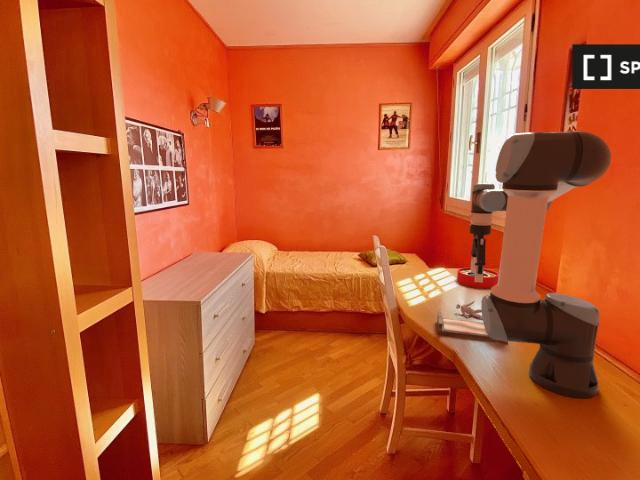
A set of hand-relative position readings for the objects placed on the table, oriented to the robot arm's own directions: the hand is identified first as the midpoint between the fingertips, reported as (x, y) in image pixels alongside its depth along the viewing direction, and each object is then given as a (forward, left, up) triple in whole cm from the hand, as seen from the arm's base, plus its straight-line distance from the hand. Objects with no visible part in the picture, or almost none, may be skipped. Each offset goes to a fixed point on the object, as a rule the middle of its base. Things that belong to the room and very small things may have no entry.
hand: (476, 277), depth 134 cm
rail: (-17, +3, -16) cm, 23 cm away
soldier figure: (-1, 0, -16) cm, 16 cm away
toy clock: (+49, -8, -16) cm, 53 cm away
